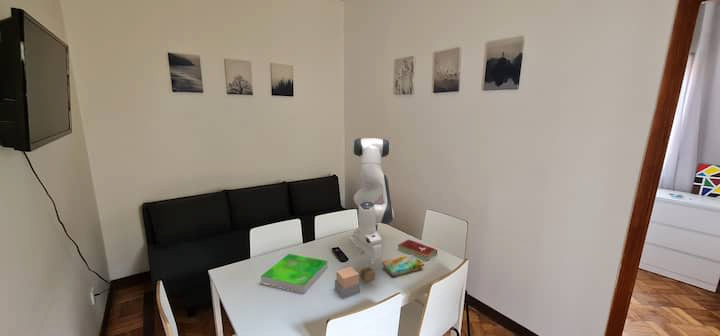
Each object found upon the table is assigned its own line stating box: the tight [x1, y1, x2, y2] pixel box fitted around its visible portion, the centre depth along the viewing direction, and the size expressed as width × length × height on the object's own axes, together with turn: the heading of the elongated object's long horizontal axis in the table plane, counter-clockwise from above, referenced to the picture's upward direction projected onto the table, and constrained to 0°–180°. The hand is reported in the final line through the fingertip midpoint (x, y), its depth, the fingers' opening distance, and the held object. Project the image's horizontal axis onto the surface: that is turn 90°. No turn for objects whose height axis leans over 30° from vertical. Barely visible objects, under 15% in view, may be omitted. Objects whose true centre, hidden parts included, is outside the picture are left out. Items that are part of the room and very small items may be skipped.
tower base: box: [334, 279, 361, 299], centre depth 143 cm, size 9×9×5 cm
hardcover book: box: [397, 239, 438, 262], centre depth 181 cm, size 12×21×4 cm, turn 45°
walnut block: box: [359, 266, 375, 284], centre depth 153 cm, size 6×6×5 cm
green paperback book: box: [260, 253, 329, 295], centre depth 156 cm, size 25×25×5 cm
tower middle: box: [335, 266, 360, 288], centre depth 142 cm, size 8×8×5 cm
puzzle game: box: [381, 254, 425, 277], centre depth 162 cm, size 12×5×20 cm
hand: (367, 259), depth 151 cm, fingers open, 8 cm apart
